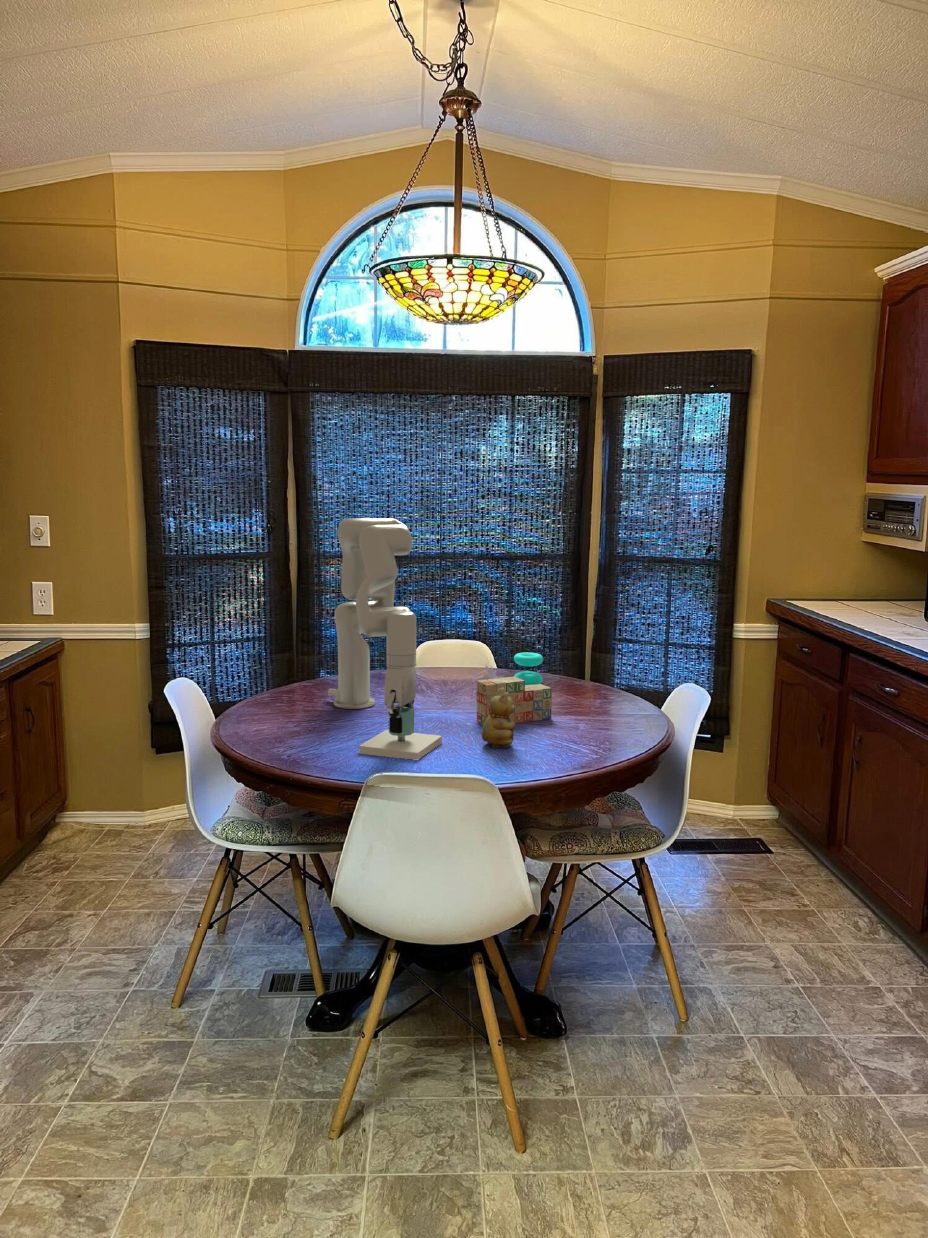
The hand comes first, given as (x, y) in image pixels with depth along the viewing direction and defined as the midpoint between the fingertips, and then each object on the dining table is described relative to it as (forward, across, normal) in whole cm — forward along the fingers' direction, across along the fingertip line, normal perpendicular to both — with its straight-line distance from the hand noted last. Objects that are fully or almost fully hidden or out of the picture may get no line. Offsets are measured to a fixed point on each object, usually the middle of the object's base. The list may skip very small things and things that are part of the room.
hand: (401, 728), depth 229 cm
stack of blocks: (+6, -38, +19) cm, 42 cm away
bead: (+1, 0, 0) cm, 1 cm away
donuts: (+5, -85, +9) cm, 86 cm away
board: (+5, 0, 0) cm, 5 cm away
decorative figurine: (+5, -12, +22) cm, 26 cm away
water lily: (+5, -61, +7) cm, 62 cm away
